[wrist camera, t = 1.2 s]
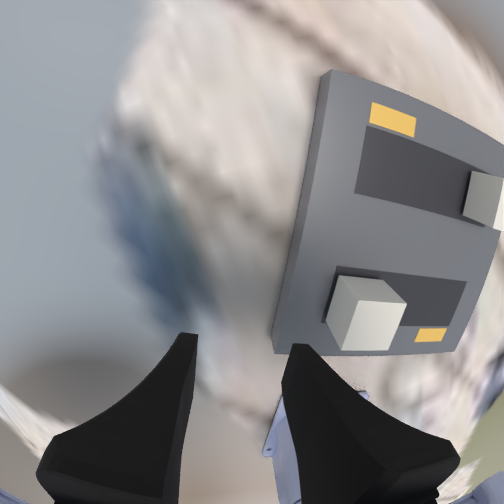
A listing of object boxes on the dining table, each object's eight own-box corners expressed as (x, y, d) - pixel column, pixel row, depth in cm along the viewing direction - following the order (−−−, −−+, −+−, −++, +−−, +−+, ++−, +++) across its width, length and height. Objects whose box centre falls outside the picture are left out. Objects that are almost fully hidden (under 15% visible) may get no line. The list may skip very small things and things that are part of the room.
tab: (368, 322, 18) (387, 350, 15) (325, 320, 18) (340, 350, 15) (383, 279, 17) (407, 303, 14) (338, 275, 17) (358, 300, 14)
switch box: (442, 339, 22) (454, 351, 21) (270, 335, 21) (274, 354, 19) (499, 150, 17) (516, 153, 15) (321, 76, 15) (332, 68, 13)
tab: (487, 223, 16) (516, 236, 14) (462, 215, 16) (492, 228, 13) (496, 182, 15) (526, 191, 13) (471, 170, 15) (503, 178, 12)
